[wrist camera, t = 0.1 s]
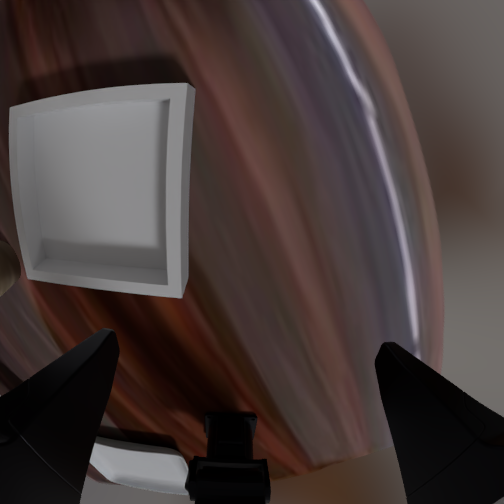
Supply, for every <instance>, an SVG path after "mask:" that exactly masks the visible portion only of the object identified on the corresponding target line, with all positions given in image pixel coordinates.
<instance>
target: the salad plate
mask: <svg viewBox="0 0 504 504" xmlns="http://www.w3.org/2000/svg"><path fill="white" fill-rule="evenodd" d="M90 463H91V464H92V465H93V466H94V467H95V468H96V469H97V470H98V471H99V472H100V473H101V474H103V475H104V476H105V477H106V478H107V479H108V480H110V481H112V482H115V483H119V484H123V485H127V486H131V487H136V488H141V489H146V490H151V491H157V492H164V493H173V494H181V495H182V494H183V495H189V493H188V491H187V490H186V489H185V482H186V478H187V474H188V466H187V464H186V462H185V460H184V458H183V456H182V455H181V453H179V452H178V451H176V450H174V449H171V448H166V447H158V446H152V445H144V444H137V443H131V442H125V441H119V440H113V439H108V438H103V437H98V436H97V437H96V440H95V444H94V447H93V451H92V454H91V458H90Z"/></svg>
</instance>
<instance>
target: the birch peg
mask: <svg viewBox="0 0 504 504" xmlns="http://www.w3.org/2000/svg"><path fill="white" fill-rule="evenodd" d="M20 275H21V267H20V262H19V259H18V257H17V255H16V253H15V251H14V250H13V249H12V247H11V246H10V245H9V244H7V243H6V242H4V241H0V297H1V296H2V295H3V294H4V293H5V292H6V291H7V290H8V289H9V288H10V287H11V286H12V285H13V284H14V283H15V282H16V281H17V280H18V279H19V278H20Z"/></svg>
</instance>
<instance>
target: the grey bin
mask: <svg viewBox="0 0 504 504" xmlns="http://www.w3.org/2000/svg"><path fill="white" fill-rule="evenodd" d="M195 90H196V89H195V88H193V87H192V86H191V85H189V84H188V83H165V84H144V85H131V86H120V87H111V88H102V89H95V90H88V91H81V92H75V93H70V94H64V95H59V96H54V97H50V98H45V99H41V100H36V101H32V102H28V103H24V104H21V105H17V106H14V107H10V114H9V161H10V177H11V189H12V198H13V206H14V214H15V220H16V227H17V232H18V238H19V243H20V248H21V253H22V257H23V262H24V266H25V270H26V274H27V278H28V279H32V280H39V281H45V282H51V283H58V284H64V285H71V286H78V287H86V288H93V289H101V290H109V291H117V292H125V293H134V294H144V295H153V296H163V297H174V298H182V296H183V293H184V290H185V286H186V283H187V280H188V222H189V184H190V161H191V143H192V127H193V114H194V101H195Z"/></svg>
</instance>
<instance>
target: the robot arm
mask: <svg viewBox="0 0 504 504" xmlns="http://www.w3.org/2000/svg"><path fill="white" fill-rule="evenodd" d="M119 352H120V350H119V345H118V341H117V337H116V333H115V331H114V330H112V329H106V328H103V329H101V330H99V331H98V332H96V333H95V334H93V335H92V336H90V337H89V338H87V339H86V340H84V341H83V342H81V343H80V344H78V345H77V346H75V347H74V348H73V349H71V350H70V351H68V352H67V353H65V354H64V355H62V356H61V357H59V358H58V359H56V360H55V361H53V362H52V363H50V364H49V365H48V366H46V367H45V368H43V369H42V370H40V371H39V372H37V373H36V374H34V375H33V376H32V377H30V379H27V380H26V381H24V382H23V383H21V384H20V385H18V386H17V387H15V388H14V389H12V390H11V391H9V392H7V393H6V394H4V395H2V396H1V397H0V504H80V498H81V493H82V489H83V485H84V481H85V477H86V473H87V469H88V466H89V462H90V458H91V454H92V451H93V447H94V444H95V440H96V437H97V434H98V430H99V427H100V424H101V421H102V417H103V414H104V411H105V408H106V405H107V402H108V399H109V396H110V393H111V389H112V384H113V380H114V375H115V371H116V366H117V362H118V358H119ZM375 369H376V374H377V379H378V384H379V389H380V395H381V400H382V403H383V407H384V410H385V414H386V417H387V421H388V424H389V428H390V432H391V435H392V439H393V443H394V447H395V450H396V454H397V458H398V462H399V467H400V471H401V475H402V479H403V484H404V488H405V493H406V497H407V498H406V499H407V503H408V504H504V417H502V416H501V415H499V414H497V413H496V412H494V411H492V410H491V409H489V408H487V407H486V406H484V405H483V404H481V403H479V402H478V401H477V400H475V399H474V398H472V397H471V396H469V395H468V394H467V393H465V392H463V391H462V390H461V389H459V388H458V387H457V386H455V385H454V384H453V383H451V382H450V381H448V380H447V379H446V378H444V377H443V376H441V375H440V374H439V373H437V372H436V371H434V370H433V369H432V368H430V367H429V366H427V365H426V364H425V363H423V362H422V361H420V360H419V359H418V358H416V357H415V356H413V355H412V354H411V353H409V352H408V351H406V350H405V349H404V348H402V347H401V346H399V345H398V344H396V343H395V342H384V343H383V344H382V345H381V347H380V350H379V352H378V354H377V356H376V359H375ZM256 423H257V416H256V415H238V414H220V413H206V414H205V426H206V437H207V438H208V442H207V456H206V457H199V456H194V459H193V460H190V461H189V469H188V474H187V478H186V482H185V489H186V490H187V491H188V493H189V495H190V500H191V501H195V504H268V503H269V502H270V494H271V489H270V488H271V487H270V479H269V472H268V466H267V459H262V460H253V438H254V433H255V428H256Z"/></svg>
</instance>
